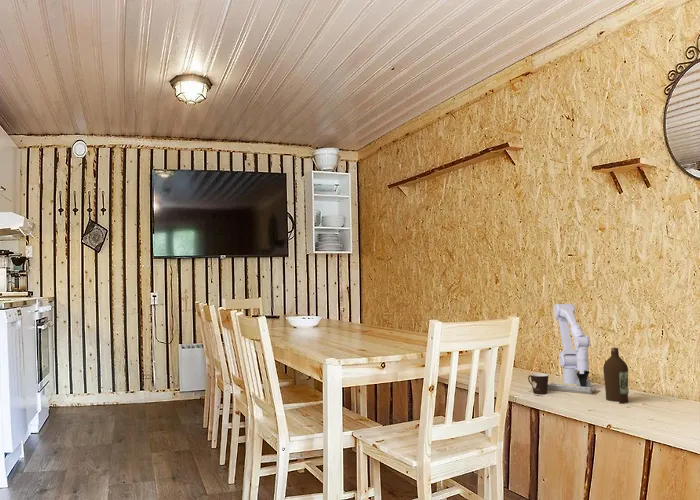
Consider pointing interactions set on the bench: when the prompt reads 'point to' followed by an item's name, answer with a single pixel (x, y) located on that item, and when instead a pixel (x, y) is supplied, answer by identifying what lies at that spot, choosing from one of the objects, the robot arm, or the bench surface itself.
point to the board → (581, 393)
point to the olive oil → (616, 378)
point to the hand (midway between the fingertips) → (583, 386)
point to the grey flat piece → (571, 388)
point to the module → (588, 383)
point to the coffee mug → (539, 383)
